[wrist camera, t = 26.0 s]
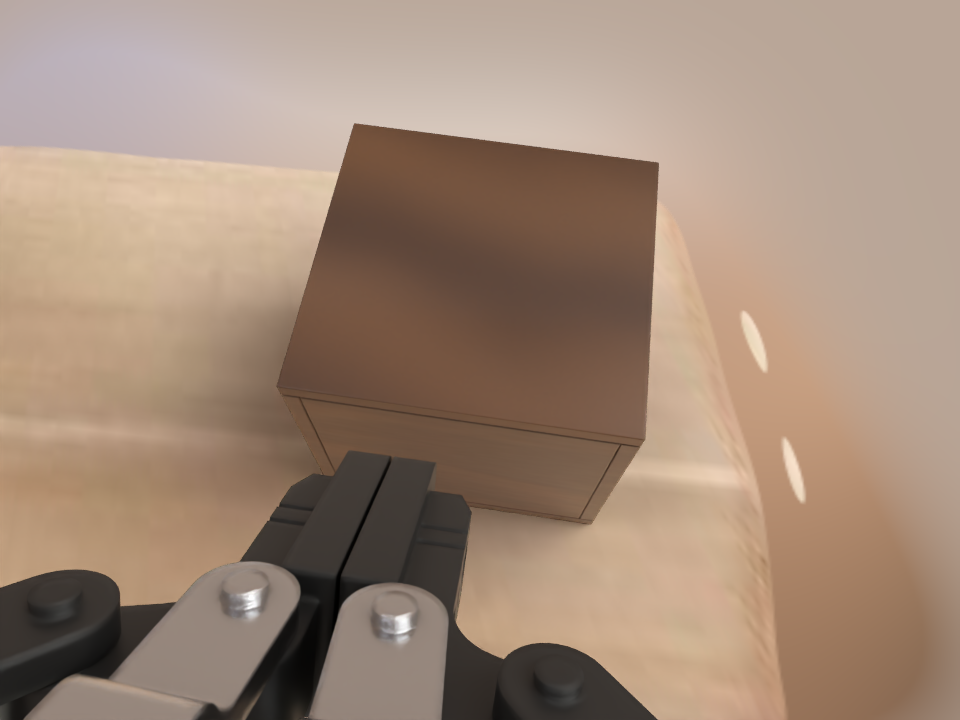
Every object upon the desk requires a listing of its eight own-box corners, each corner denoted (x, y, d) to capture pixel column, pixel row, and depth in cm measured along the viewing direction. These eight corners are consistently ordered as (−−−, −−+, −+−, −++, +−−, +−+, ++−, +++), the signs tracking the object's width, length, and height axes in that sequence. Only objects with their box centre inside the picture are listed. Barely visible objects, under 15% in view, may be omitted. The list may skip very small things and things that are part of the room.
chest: (377, 284, 49) (351, 148, 37) (608, 316, 48) (654, 187, 37) (328, 485, 43) (280, 395, 31) (591, 524, 42) (640, 447, 31)
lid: (355, 134, 38) (353, 122, 37) (655, 173, 37) (659, 162, 36) (279, 394, 31) (276, 386, 31) (641, 447, 31) (645, 440, 30)
